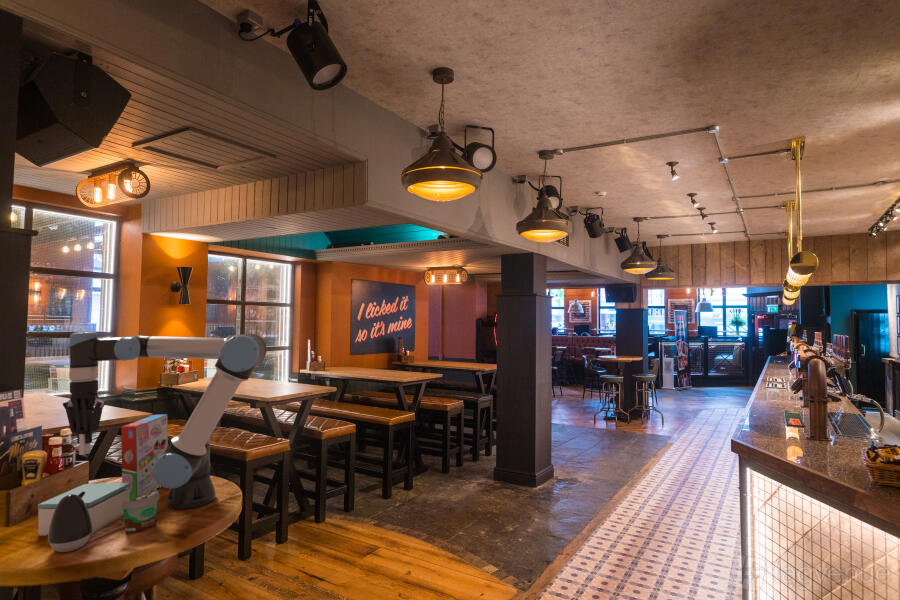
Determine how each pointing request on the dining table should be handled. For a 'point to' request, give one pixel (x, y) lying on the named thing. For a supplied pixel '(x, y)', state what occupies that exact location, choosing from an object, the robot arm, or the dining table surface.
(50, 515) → the cream box
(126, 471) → the game box
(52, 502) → the box lid
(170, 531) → the dining table surface
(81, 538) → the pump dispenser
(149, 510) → the food container
